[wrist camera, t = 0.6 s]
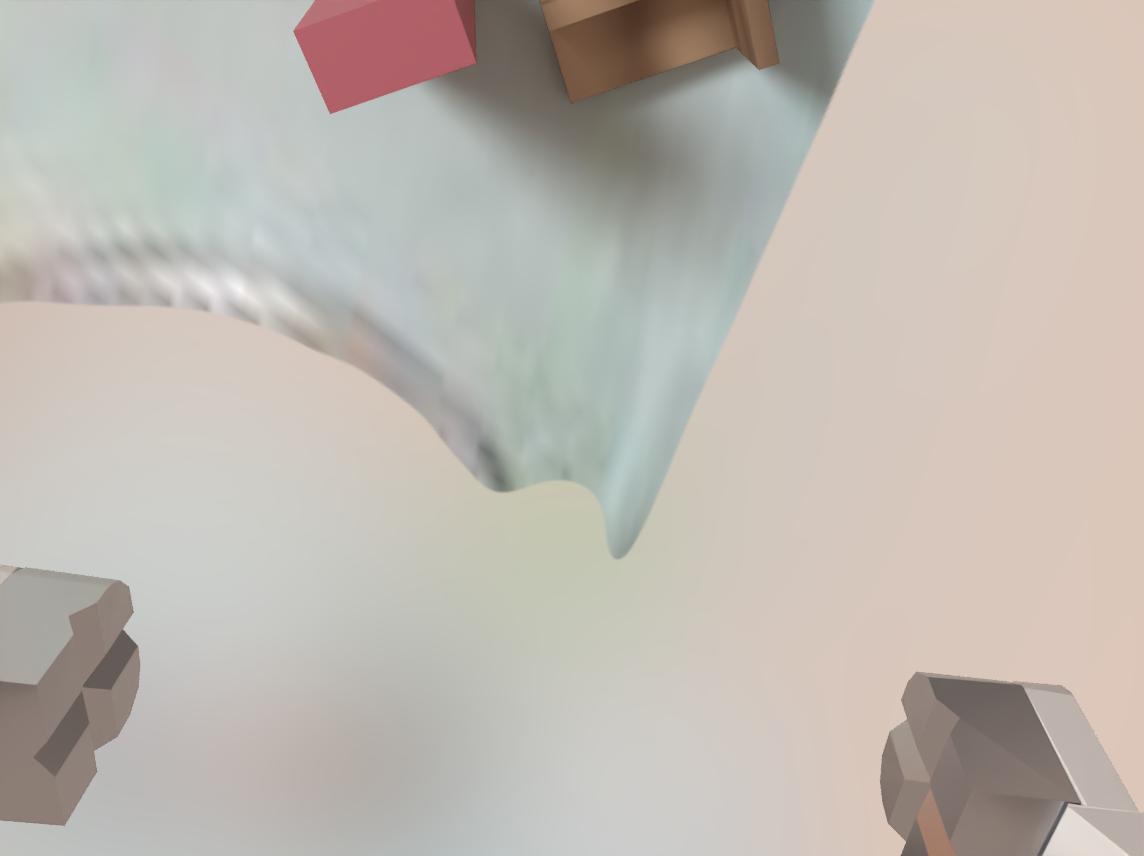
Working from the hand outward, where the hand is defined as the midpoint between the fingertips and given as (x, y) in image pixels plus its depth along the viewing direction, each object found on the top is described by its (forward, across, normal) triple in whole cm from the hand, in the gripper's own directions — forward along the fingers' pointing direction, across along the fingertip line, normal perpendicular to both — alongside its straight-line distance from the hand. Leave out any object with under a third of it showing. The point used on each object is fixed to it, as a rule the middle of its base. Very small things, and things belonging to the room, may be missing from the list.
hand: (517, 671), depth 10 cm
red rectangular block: (+46, +10, -2) cm, 47 cm away
